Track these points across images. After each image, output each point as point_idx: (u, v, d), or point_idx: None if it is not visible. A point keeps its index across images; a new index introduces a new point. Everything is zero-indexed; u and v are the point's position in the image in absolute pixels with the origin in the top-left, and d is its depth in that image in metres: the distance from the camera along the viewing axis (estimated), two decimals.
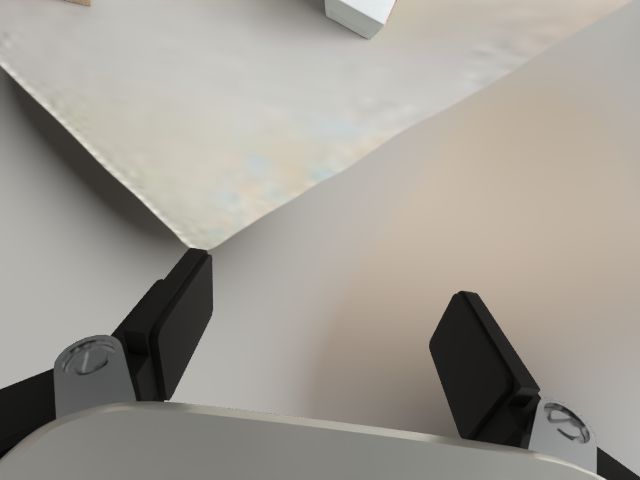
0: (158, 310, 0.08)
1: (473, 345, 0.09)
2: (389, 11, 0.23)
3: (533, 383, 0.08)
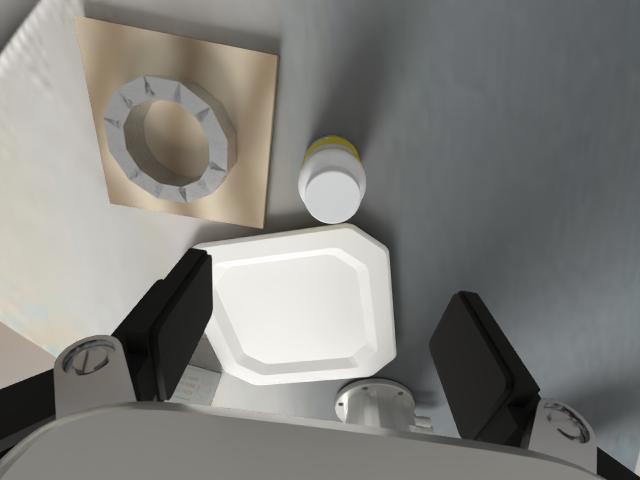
0: (158, 310, 0.08)
1: (473, 345, 0.09)
2: None
3: (533, 383, 0.08)
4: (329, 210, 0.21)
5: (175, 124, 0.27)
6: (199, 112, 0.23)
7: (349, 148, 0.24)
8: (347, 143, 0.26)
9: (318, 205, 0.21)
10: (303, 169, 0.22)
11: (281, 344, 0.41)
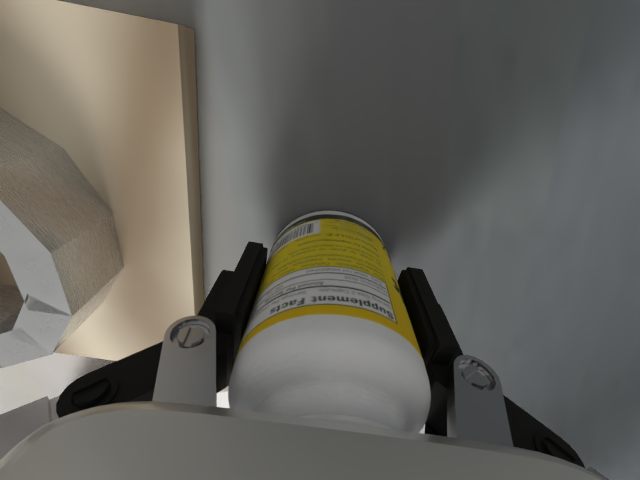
0: (238, 295, 0.09)
1: (411, 314, 0.10)
2: None
3: (452, 342, 0.08)
4: None
5: None
6: None
7: (375, 277, 0.09)
8: (367, 245, 0.10)
9: None
10: (236, 375, 0.07)
11: None
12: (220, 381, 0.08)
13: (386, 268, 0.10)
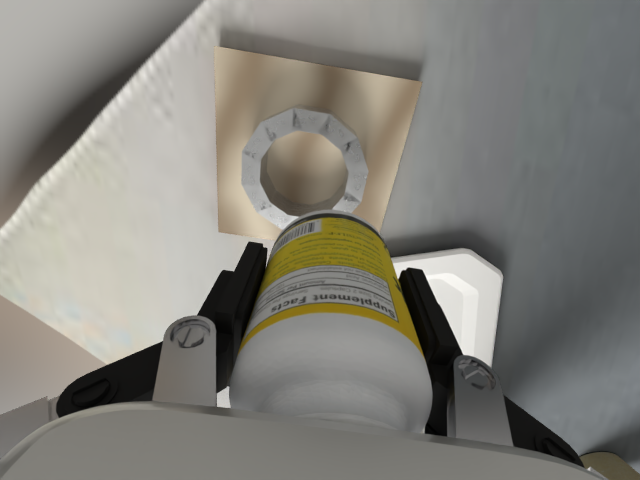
0: (238, 295, 0.09)
1: (411, 314, 0.10)
2: None
3: (452, 342, 0.08)
4: None
5: (301, 153, 0.26)
6: (344, 144, 0.22)
7: (377, 275, 0.09)
8: (368, 243, 0.10)
9: None
10: (238, 373, 0.07)
11: None
12: (220, 381, 0.08)
13: (387, 267, 0.10)
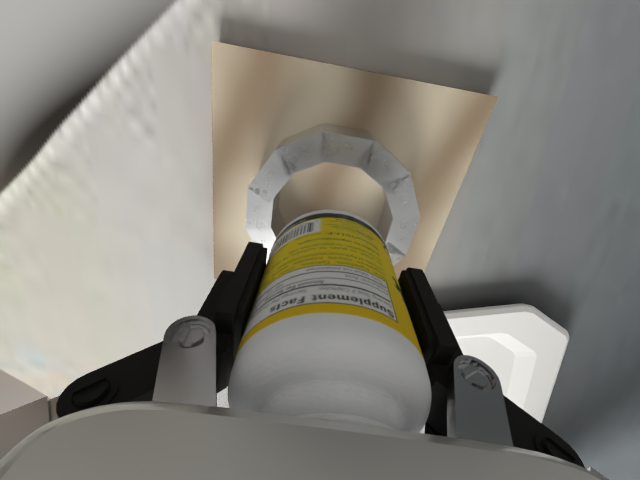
0: (238, 295, 0.09)
1: (411, 314, 0.10)
2: None
3: (452, 342, 0.08)
4: None
5: (325, 185, 0.19)
6: (391, 181, 0.16)
7: (376, 275, 0.09)
8: (367, 243, 0.10)
9: None
10: (236, 373, 0.07)
11: None
12: (220, 381, 0.08)
13: (387, 267, 0.10)
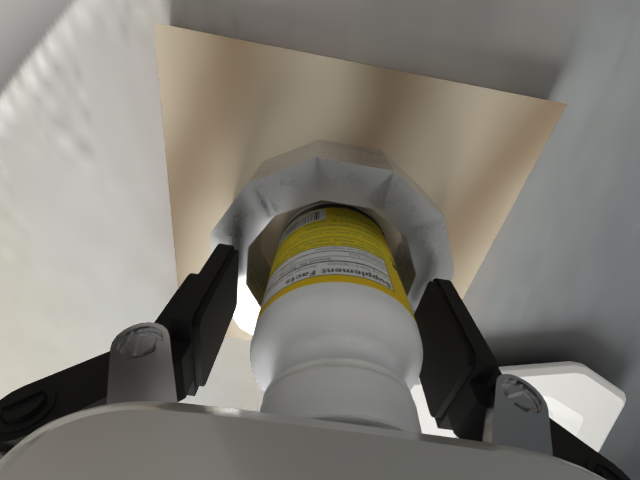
0: (198, 300, 0.08)
1: (443, 328, 0.10)
2: None
3: (493, 360, 0.08)
4: None
5: None
6: (416, 226, 0.11)
7: (375, 255, 0.10)
8: (367, 229, 0.12)
9: None
10: (258, 334, 0.08)
11: None
12: (177, 391, 0.08)
13: (385, 249, 0.11)
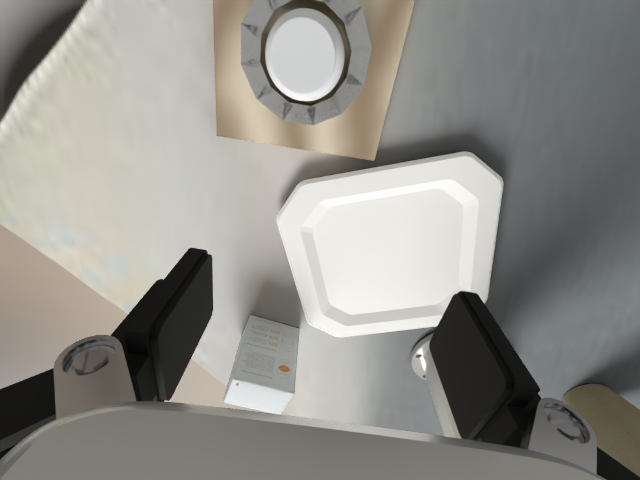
0: (158, 310, 0.08)
1: (473, 345, 0.09)
2: (230, 403, 0.38)
3: (533, 383, 0.08)
4: (299, 75, 0.18)
5: None
6: (348, 13, 0.22)
7: None
8: None
9: (285, 68, 0.18)
10: (269, 34, 0.19)
11: (369, 292, 0.40)
12: None
13: None
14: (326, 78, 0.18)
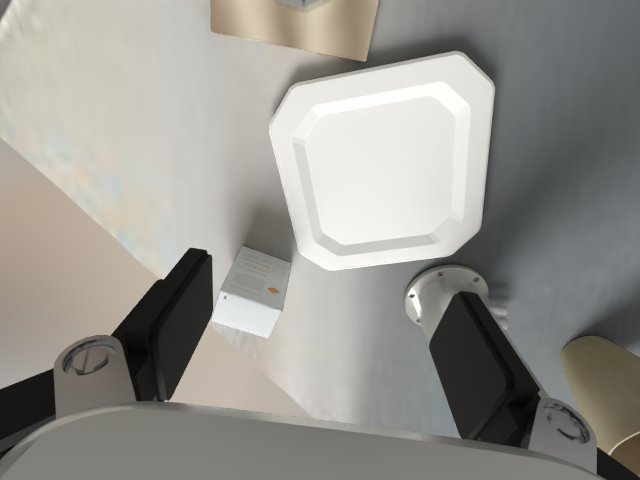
0: (158, 310, 0.08)
1: (473, 345, 0.09)
2: (218, 322, 0.37)
3: (533, 384, 0.08)
4: None
5: None
6: None
7: None
8: None
9: None
10: None
11: (361, 218, 0.40)
12: None
13: None
14: None
